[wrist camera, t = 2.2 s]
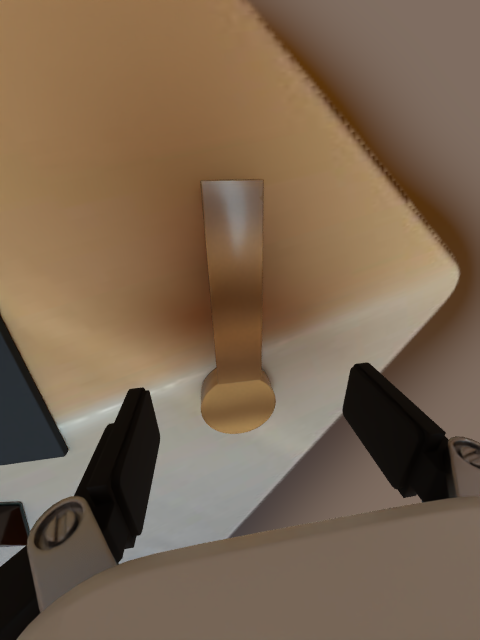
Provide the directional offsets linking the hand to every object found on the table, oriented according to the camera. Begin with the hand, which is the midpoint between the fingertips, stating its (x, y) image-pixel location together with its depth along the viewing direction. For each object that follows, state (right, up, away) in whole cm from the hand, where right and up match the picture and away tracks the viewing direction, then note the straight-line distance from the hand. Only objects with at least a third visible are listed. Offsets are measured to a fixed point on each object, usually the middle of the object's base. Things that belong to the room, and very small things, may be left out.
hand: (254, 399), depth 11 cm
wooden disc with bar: (-1, +3, +7) cm, 8 cm away
